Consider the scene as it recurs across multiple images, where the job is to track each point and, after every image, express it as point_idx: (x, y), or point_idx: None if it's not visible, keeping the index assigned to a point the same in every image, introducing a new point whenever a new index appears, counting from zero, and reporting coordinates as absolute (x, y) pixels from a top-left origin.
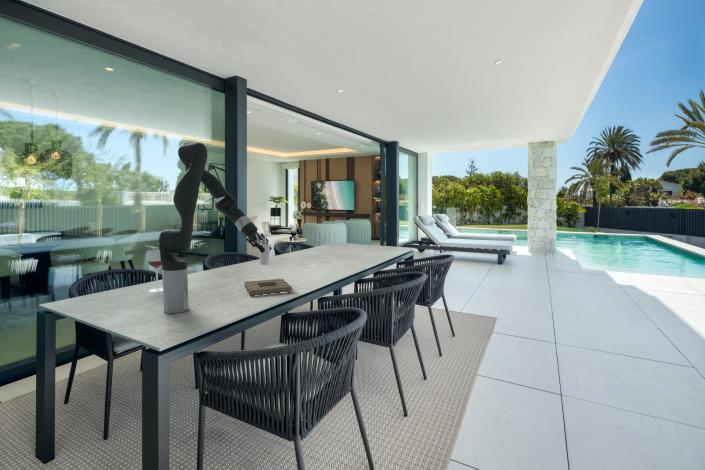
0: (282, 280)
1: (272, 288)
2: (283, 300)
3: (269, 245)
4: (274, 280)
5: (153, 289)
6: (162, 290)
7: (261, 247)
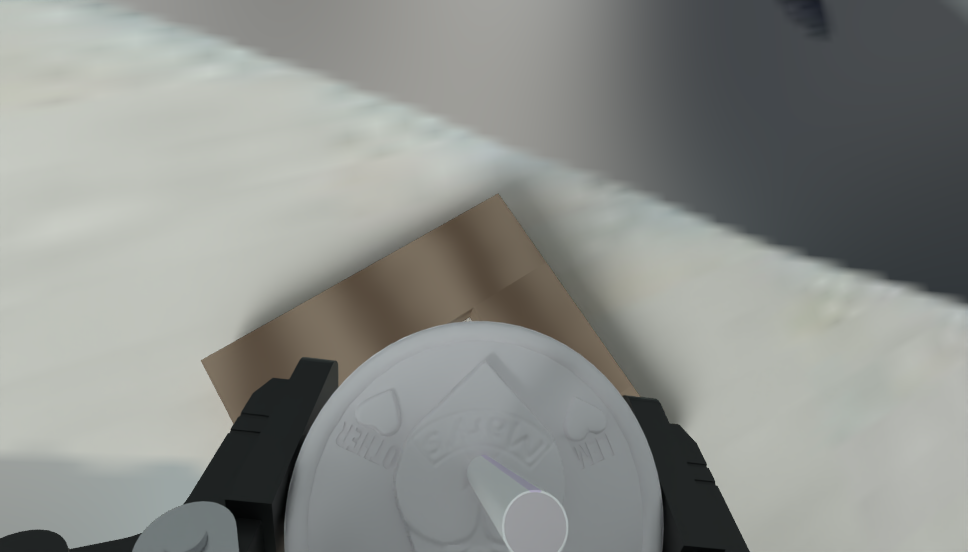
0: (281, 334)
1: (582, 315)
2: (678, 210)
3: (512, 325)
4: None
5: None
6: None
7: (681, 485)
